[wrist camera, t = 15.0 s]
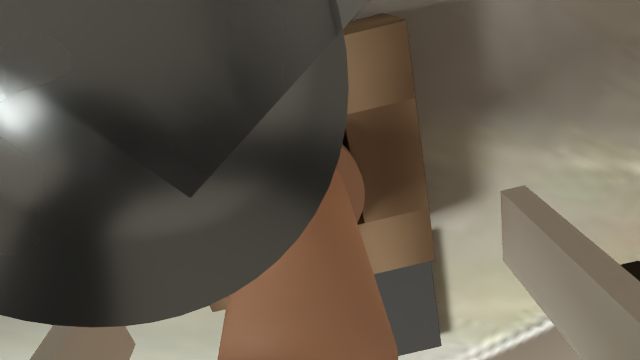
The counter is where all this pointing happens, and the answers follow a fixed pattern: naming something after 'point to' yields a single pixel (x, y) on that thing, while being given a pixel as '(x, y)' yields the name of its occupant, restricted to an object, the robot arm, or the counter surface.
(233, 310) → the peg
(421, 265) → the mat
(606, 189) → the counter surface
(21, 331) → the counter surface
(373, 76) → the socket block
